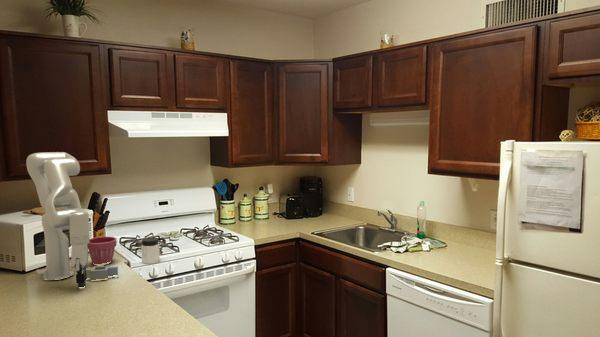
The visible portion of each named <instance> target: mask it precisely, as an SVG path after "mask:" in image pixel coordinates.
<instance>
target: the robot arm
mask: <svg viewBox="0 0 600 337" xmlns="http://www.w3.org/2000/svg"><path fill="white" fill-rule="evenodd" d="M25 163H26V169H27V172H28V175H29V176H30V178H31V180H32V182H34V185H35V189H36V192H37V196H38V200H39V203H40V206H41V207H42V208H43V209H44V211H45V213H44V214H43V215H41V216H42V217H41V226H42V229H43V233H44V234H43V235H44V248H45V250H44V251H45V266H46V267H45V268H44V269H36V271H35V272H36V275H38V276H39V275H43V276H42V279H43V278H44V279H47V280H55V279H61V278H65V277H68V276H71V275H72V274H73V273H74V271H73V270H71V269H73V268H74V269H75V266H76V269H75V273H74V274H75V281H76V282H75V283H76V284H78V283H84V282H85V281H87V280H86V279H87V273H86V271H85V275H84V269H83V267H84V266H85V265H86V264H88V262H89V249H88V245H87V243H89V242H90V239H91V238H90V237H91V236H90V217H89V212H88V211H85V210H83V208H82V204H81V201H80V198H79V195H78V192H77V191H76V190H75V189H74V188H73V185H72V184H73V183H72V182H71V179H70V176H72V177H73V176H77V175H78V174H80V171H81V165H80V163H79V161H78V160H77V158H75V157H74V156H72V155H71V154H69V153H67V152H64V151H61V152H60V151H56V152H55V151H53V152H52V151H50V152H48V151H47V152H34V153H31V154H29V155H28V156H27V158H26V161H25ZM64 230H69V236H68V235H67V234H65V233H64V232H63V231H64ZM70 245H71V252H70ZM70 255H71V257H70ZM70 259H71V260H70ZM70 261H71V262H70ZM70 263H71V264H70ZM80 265H82V266H81V267H80ZM80 268H82V270H81V269H80ZM86 269H87V268H85V270H86ZM71 273H72V274H71Z"/></svg>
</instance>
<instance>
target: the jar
mask: <svg viewBox="0 0 600 337" xmlns="http://www.w3.org/2000/svg"><path fill="white" fill-rule="evenodd" d="M140 247H141V263H142V264H144V265H145V264H146V265H151V264H157V263H158V262H159V261H160V259H161V257H160V243H159V238H158V237H147V238H143V239H142V241H141V246H140Z"/></svg>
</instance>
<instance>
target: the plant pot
mask: <svg viewBox="0 0 600 337" xmlns="http://www.w3.org/2000/svg"><path fill="white" fill-rule="evenodd" d="M117 243H118V242H117V238H116V237H113V236H97V237H92V238H90V242H89V243H87V245H88V254H89V257H90V260H91V264H92V263H94V264H102V263H107V262H110V261H112V262H113V257H114V253H115V248H116V247H117Z"/></svg>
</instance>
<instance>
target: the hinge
mask: <svg viewBox="0 0 600 337" xmlns="http://www.w3.org/2000/svg"><path fill="white" fill-rule="evenodd" d="M110 265H111V264H109V265H106V266H93V267H92V268H86V270H85V271H86V273H87V278H90V279H91V280H96V279H105V278H108V276H113V275H118V276H119V267H118V266H110ZM91 280H90V281H91Z"/></svg>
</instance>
